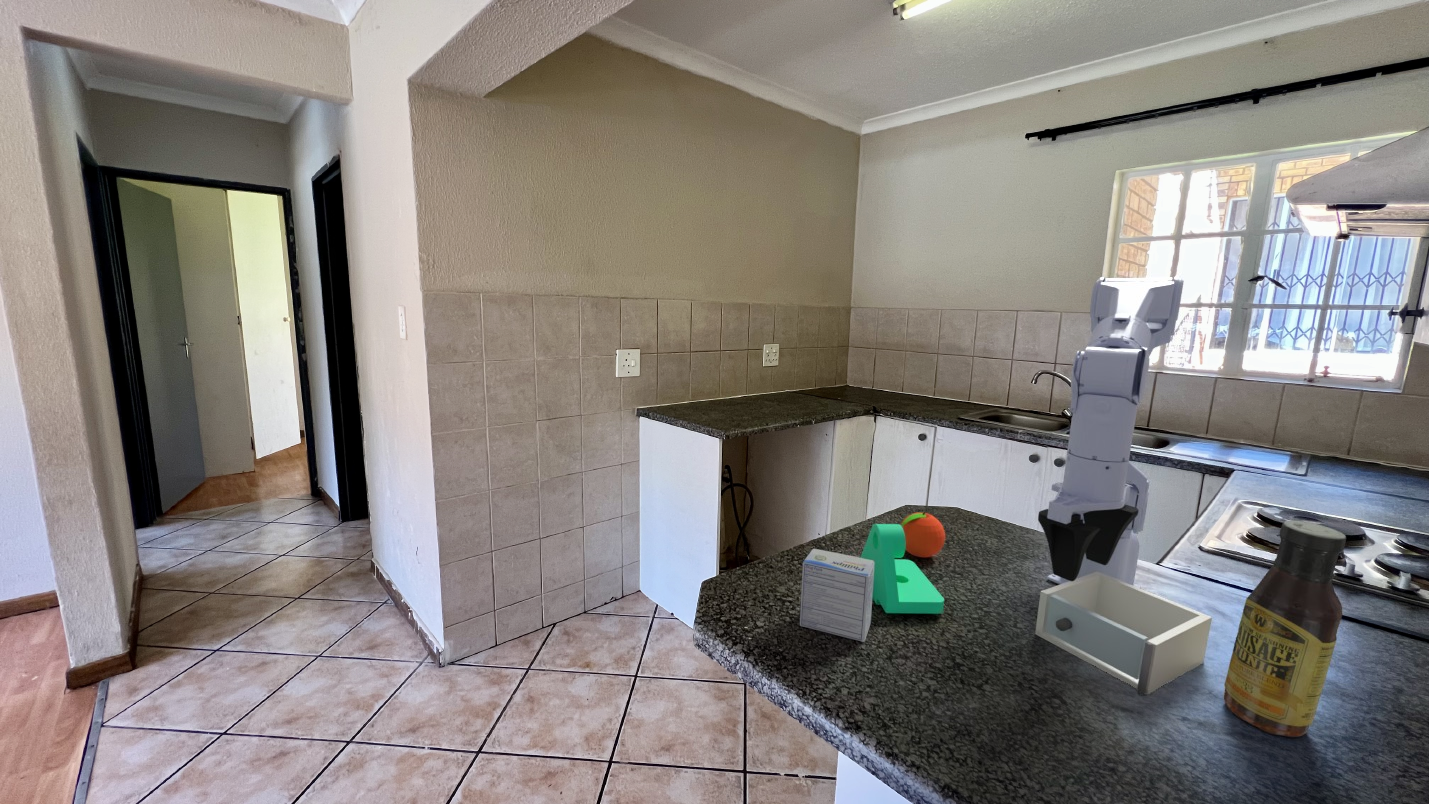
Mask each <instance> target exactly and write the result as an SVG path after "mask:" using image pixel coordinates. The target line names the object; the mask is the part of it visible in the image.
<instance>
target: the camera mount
mask: <svg viewBox="0 0 1429 804" xmlns="http://www.w3.org/2000/svg"><path fill="white" fill-rule="evenodd" d="M905 548H906V540H905V534H904V530H903V528H902V526H901V523H900V524H899V523H898V524H897V523H896V524H895V523H887V524H886V523H873V524H872V526H871V528H870V531H869V534H868V537H867V539H866V541H865V545H864V547H863V549H862V553H861V554H860V555H861V556H860V557H859V558H863V559H868V560H873V561H874V562H875V566H874V580H873V594H872V600H873V601H874V602H875V605H881V607H882V608H883V610H884V612H885V613H886V614H941V613H943V612H944V605H945V598H944V597H943V596H942V594H941V593H940V592H939V590H937V588H936V587H935V586H934V584H932V582H931V581H930V580H929V579H928V577H927V576H926V575H925V574H924V573H923V571H922V570H921V569H920V568H919V566H917V564H916V563H915V562H914V561H912V560H910V559H903V557H904V556H905V553H906V550H905ZM898 558H899V559H898Z"/></svg>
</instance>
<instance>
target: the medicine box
mask: <svg viewBox="0 0 1429 804" xmlns="http://www.w3.org/2000/svg"><path fill="white" fill-rule="evenodd" d="M874 566H875V562H874V561H873V560H868V559H863V558H860V557H858V556H853V555H849V554H843V553H840V552H835V551H834V552H833V551H828V550H823V549H817V548H813V549H811V551H810V552H809V553H808V554H807V556H806V558H804V560H803V561H802V574H801V575H802V577H801V591H800V592H801V595H800V596H801V597H800V612H799V613H800V614H799V617H800V618H799V626H800V627H805V628H808V629H811V630H816V631H820V632H823V633H827V634H831V635H833V636H839V637H843V638H845V639H846V638H847V639H850V640H855V641H859V642H862V643H865V642H866V639H867V635H868V632H869V629H870V626H871V623H872V611H873V610H872V609H873V608H872V605H873V598H872V594H873V580H874Z"/></svg>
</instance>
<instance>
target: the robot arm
mask: <svg viewBox="0 0 1429 804" xmlns="http://www.w3.org/2000/svg"><path fill="white" fill-rule="evenodd" d="M1183 286H1184V280H1183V279H1182V278H1181V277H1180V276H1174V278H1173V277H1126V278H1125V277H1124V278H1123V277H1120V278H1119V277H1118V278H1117V277H1116V278H1115V277H1114V278H1113V277H1111V278H1109V277H1108V278H1106V276H1105V277H1101V276H1100V277H1099V278H1097V280H1096V281H1094V284H1093V288H1092V292H1091V297H1090V298H1091V299H1090V306H1089V307H1090V308H1089V317H1090V331H1091V336H1090V338H1089V341H1088V344H1087V346H1086V348H1085V350H1084V351H1082V350H1077V351H1076V354H1075V356H1074V358H1073V364H1072V368H1071V374H1070V389H1071V394H1070V395H1071V400H1070V408H1069V409H1070V411H1069V412H1070V413H1072V415H1071V416H1072V417H1071V423H1070V429H1069V437H1068V442H1067V443H1068V445H1067V453H1066V457H1065V459H1066V460H1065V466H1064V474H1063V481H1062V482H1055V483H1052V485H1051V491H1053V492H1056V496H1055V498H1054V499H1053V500H1051V501H1048V508H1045V509H1043V510H1040V511H1038V516H1037V520H1038V523H1039V524H1040V526H1041V528H1042V530H1043V532H1044V534H1045V538H1046V541H1047V544H1048V550H1049V554H1050V562H1051V569H1052V574H1049V575H1048V576H1047V580H1049V581H1051V582H1053V583H1055V584H1058V585H1060V584H1063V583H1066V582H1069V581H1074V580H1075V579H1077V578H1080V577H1083V576H1086V575H1089V574H1091V573H1094V572H1097V571H1098V572H1100V573H1103V574H1105V575H1108V576H1110V577H1113V578H1115V579H1118V580H1120V581H1123V582H1125V583H1128V584H1130V585H1133V586H1135V587H1138V588H1140V589H1142V587H1141V585H1139V584H1136V583H1135V577H1136V571H1137V565H1138V559H1139V555H1140V554H1139V553H1140V546H1141V545H1140V542H1139V538H1138V535H1136V534H1139V533H1141V532H1143V531H1144V526H1145V520H1146V514H1147V507H1148V504H1149V503H1148V502H1149V495H1150V493H1149V488H1150V481H1149V480H1148V478H1149V477H1148V475H1146V473H1143V471H1141V470H1140V469H1139V468H1138V467H1137V466H1136V465H1134V464H1133V463H1132V462H1131V461H1130V454H1131V449H1132V441H1133V436H1134V430H1135V425H1136V418H1137V413H1138V406H1139V404H1140V403H1141V401H1142V399H1143V397H1144V395H1145V393H1146V386H1147V381H1148V374H1149V368H1150V356H1151V354H1152V352H1153V350H1154V349H1156V348H1158V347H1161V346H1164V345H1166V344H1169V343H1170V342H1171V338H1172V336H1174V335H1175V329H1176V324H1177V321H1178V318H1179V313H1180V306H1181V302H1182V301H1181V300H1182V294H1183V290H1184V289H1183Z"/></svg>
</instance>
